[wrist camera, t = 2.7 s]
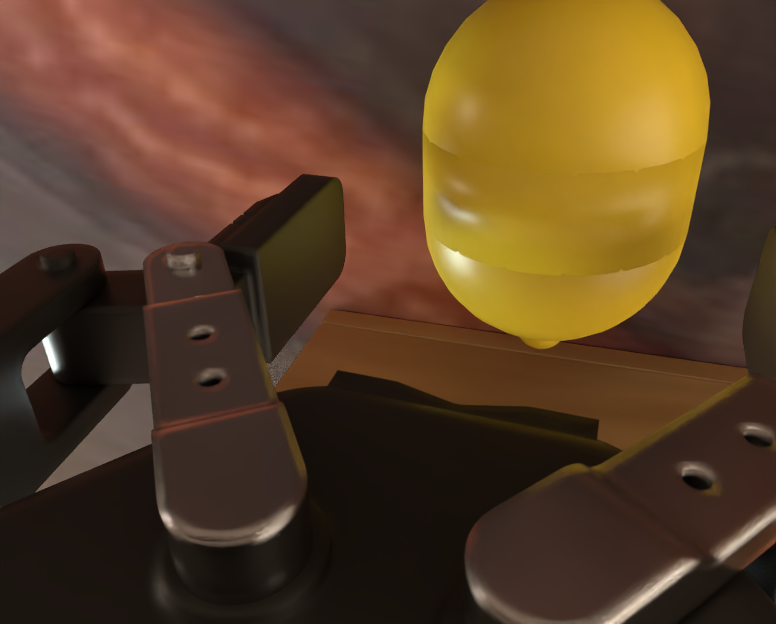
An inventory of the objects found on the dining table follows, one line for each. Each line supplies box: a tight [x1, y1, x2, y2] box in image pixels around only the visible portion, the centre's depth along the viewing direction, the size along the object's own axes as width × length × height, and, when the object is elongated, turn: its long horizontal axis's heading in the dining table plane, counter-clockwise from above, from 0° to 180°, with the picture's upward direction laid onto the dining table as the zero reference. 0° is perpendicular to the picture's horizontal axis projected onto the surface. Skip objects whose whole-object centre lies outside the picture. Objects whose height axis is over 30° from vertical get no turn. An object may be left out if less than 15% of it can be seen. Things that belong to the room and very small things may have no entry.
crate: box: [275, 310, 749, 450], centre depth 23 cm, size 18×14×6 cm
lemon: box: [423, 0, 710, 349], centre depth 15 cm, size 9×6×6 cm, turn 2°
